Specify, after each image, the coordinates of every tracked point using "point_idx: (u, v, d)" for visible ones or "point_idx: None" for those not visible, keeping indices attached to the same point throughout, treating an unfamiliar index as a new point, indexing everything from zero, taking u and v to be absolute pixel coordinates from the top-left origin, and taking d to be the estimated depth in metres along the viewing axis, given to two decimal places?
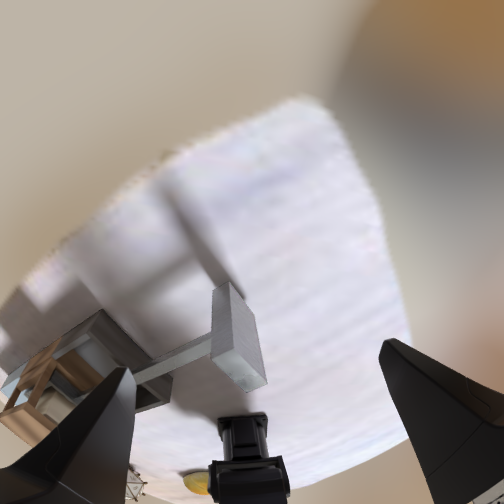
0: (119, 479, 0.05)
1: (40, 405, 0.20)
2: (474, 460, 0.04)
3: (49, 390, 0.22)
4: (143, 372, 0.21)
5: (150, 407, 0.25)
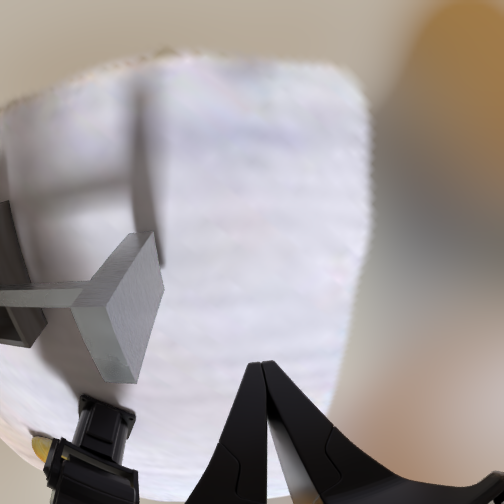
0: None
1: None
2: None
3: None
4: (8, 293, 0.12)
5: (9, 343, 0.15)
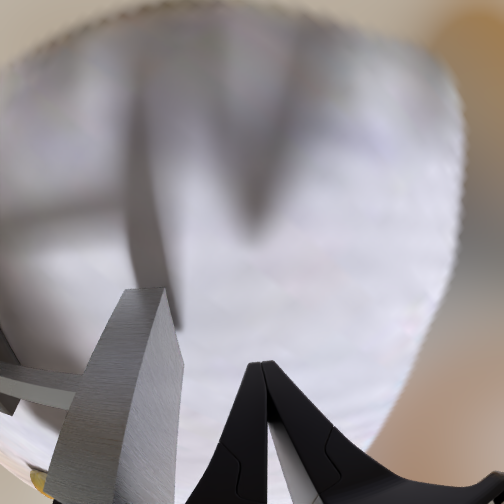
0: None
1: None
2: None
3: None
4: None
5: None
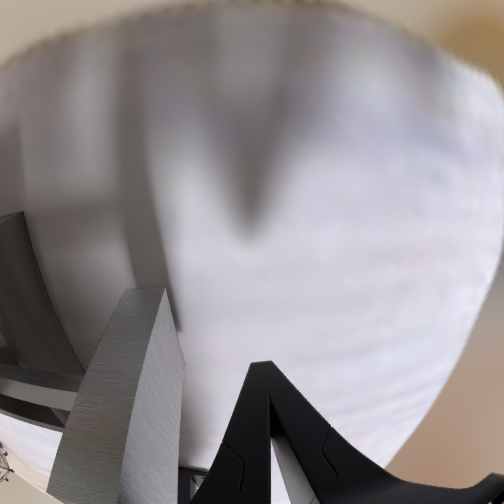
0: None
1: None
2: None
3: None
4: None
5: (44, 426, 0.10)
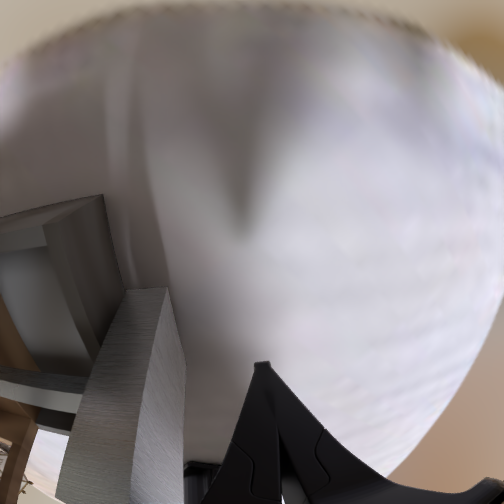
0: None
1: None
2: None
3: None
4: None
5: None
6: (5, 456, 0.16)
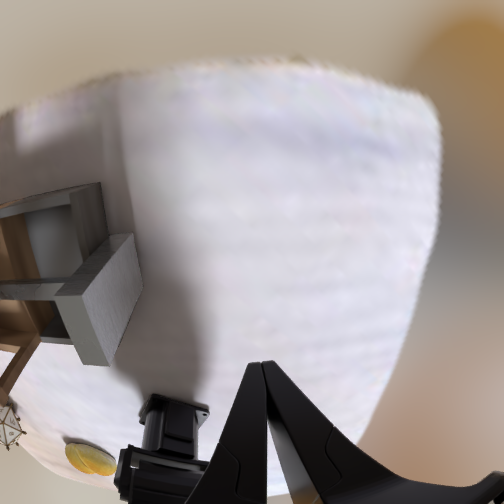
0: None
1: None
2: None
3: None
4: (4, 287, 0.13)
5: None
6: (5, 407, 0.24)
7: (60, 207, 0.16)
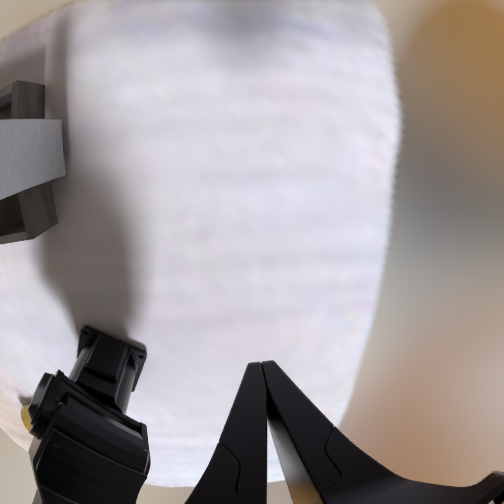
0: None
1: None
2: None
3: None
4: None
5: (9, 239, 0.14)
6: None
7: (11, 113, 0.13)
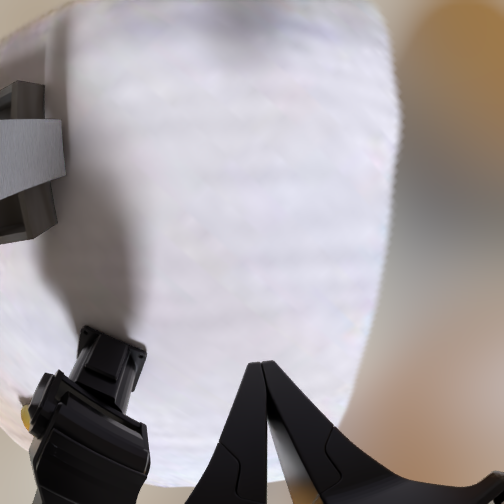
0: None
1: None
2: None
3: None
4: None
5: (9, 239, 0.14)
6: None
7: (10, 113, 0.13)
